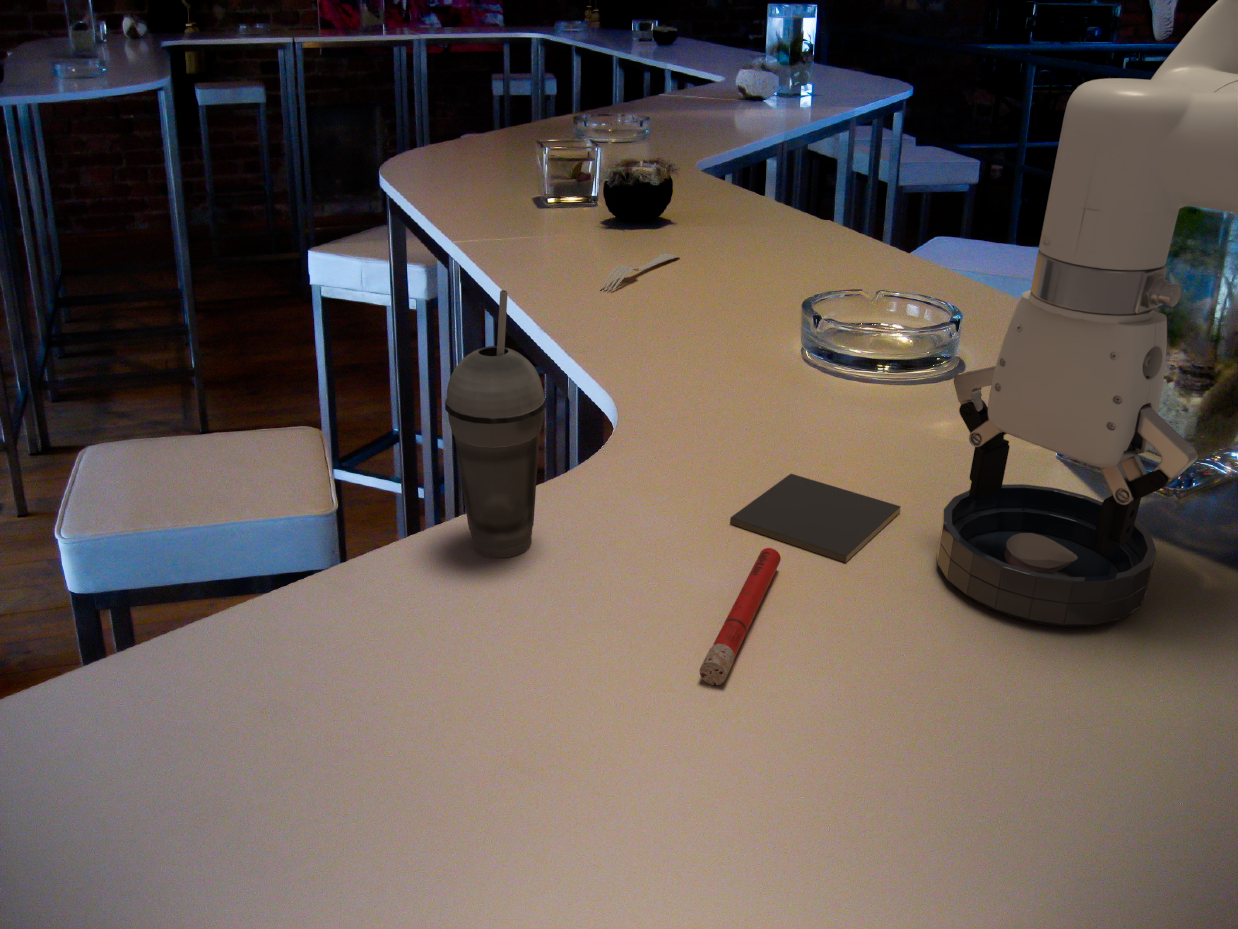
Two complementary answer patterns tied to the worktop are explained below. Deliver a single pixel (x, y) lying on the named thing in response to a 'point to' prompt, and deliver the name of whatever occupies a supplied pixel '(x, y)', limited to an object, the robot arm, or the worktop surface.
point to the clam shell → (1037, 553)
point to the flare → (739, 618)
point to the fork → (654, 262)
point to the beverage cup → (497, 442)
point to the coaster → (816, 517)
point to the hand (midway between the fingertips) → (1043, 519)
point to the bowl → (1052, 599)
